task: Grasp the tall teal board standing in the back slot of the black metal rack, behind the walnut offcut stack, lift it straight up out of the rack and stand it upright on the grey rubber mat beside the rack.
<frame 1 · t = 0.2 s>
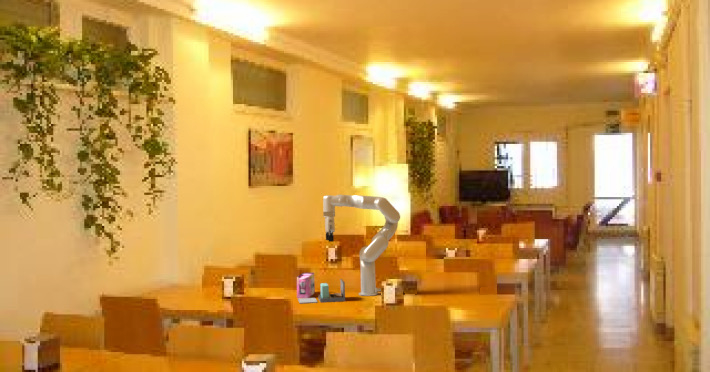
hand: (329, 240, 527), 36 cm above the table, tool pointing down, fingers open, 9 cm apart
offcut stack: (338, 300, 515), resting in rack
mat: (307, 301, 513), on the table
gum box: (306, 295, 537), on the table
teal board: (324, 300, 514), resting in rack
rack: (331, 299, 515), on the table
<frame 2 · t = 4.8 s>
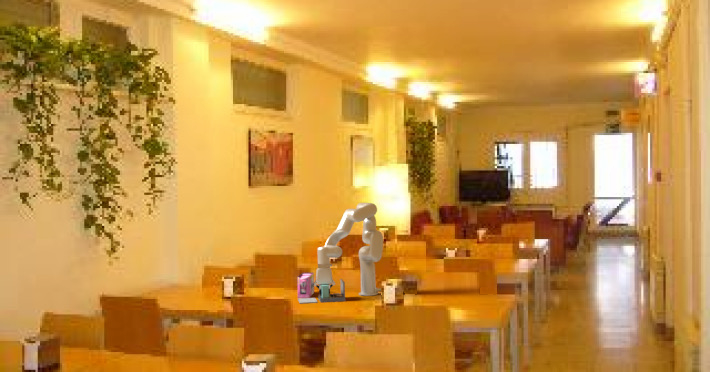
hand: (324, 295, 514), 3 cm above the table, tool pointing down, fingers closed on teal board, 4 cm apart
teal board: (324, 300, 514), resting in rack, touching gripper
everything else where it was.
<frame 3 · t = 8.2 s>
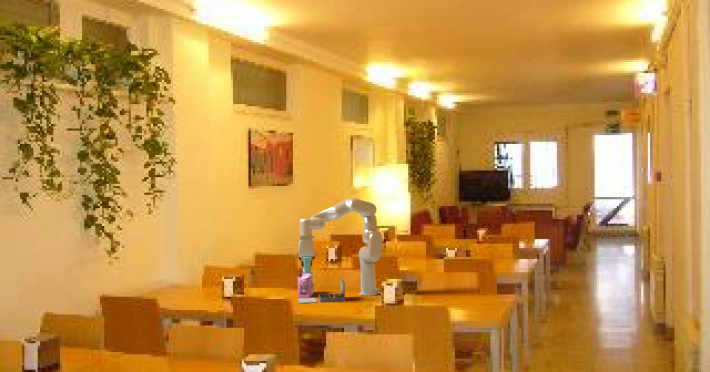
hand: (306, 267, 512), 22 cm above the table, tool pointing down, fingers closed on teal board, 4 cm apart
teal board: (306, 272, 512), point 18 cm above the table, touching gripper
everything else where it was.
when the fingers open (5 cm above the table, at t = 12.0 s): teal board drops 1 cm, resting on mat.
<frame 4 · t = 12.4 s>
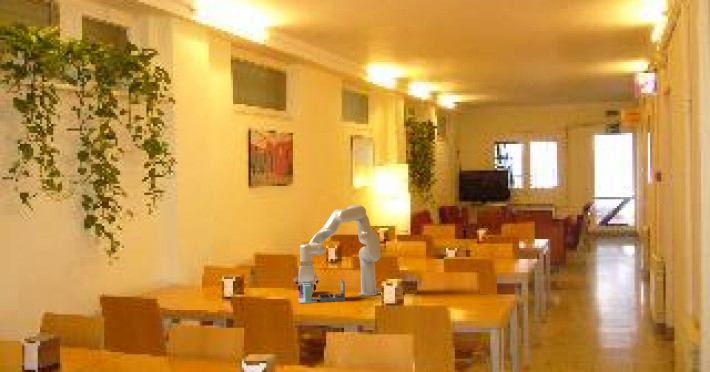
hand: (307, 291, 512), 6 cm above the table, tool pointing down, fingers open, 8 cm apart
teal board: (307, 300, 513), point 1 cm above the table, touching mat
everything else where it was.
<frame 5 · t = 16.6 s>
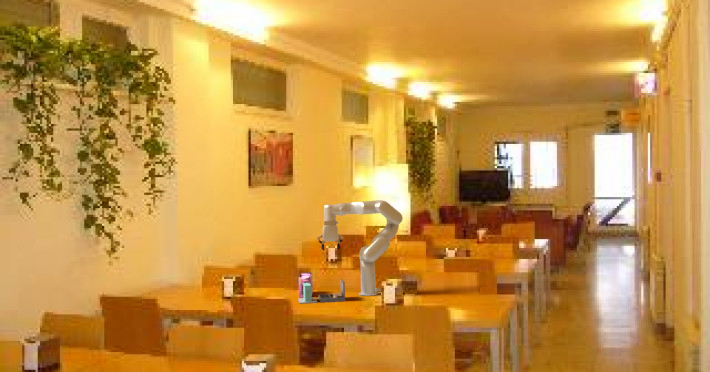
hand: (330, 250, 526), 30 cm above the table, tool pointing down, fingers open, 9 cm apart
at the end: teal board inside the target area on the mat (0.1 cm from its centre), point 0.6 cm above the mat's base; teal board tilted 0°; offcut stack moved 0.4 cm from its start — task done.
